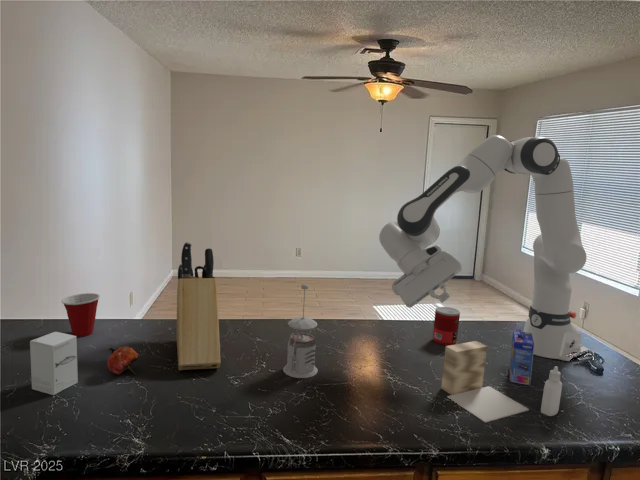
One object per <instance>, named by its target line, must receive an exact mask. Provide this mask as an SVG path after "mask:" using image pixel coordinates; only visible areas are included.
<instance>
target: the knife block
mask: <svg viewBox="0 0 640 480" xmlns="http://www.w3.org/2000/svg"><path fill="white" fill-rule="evenodd" d="M192 245H193V244H192V243H190V242H187V241H186V242H185V243H184V244H183V247H182V250H181V261H180V264H179V266H178V269H177V291H176V292H177V293H176V294H177V295H176V347H177V366H178V371H186V370H187V371H188V370H206V369H218V368H219V369H220V367H221V343H220V325H219V304H218V303H219V302H218V287H217V278H216V277H214V274H213V273H214V252H213V249H212V248H205V250H204V265H203V266H202V265H198V266H196V267H194V271H193V268H192V266H193V265H192V260H193V259H192V252H191V251H192ZM198 270H202V271H201V277H199V271H198Z"/></svg>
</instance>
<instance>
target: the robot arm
mask: <svg viewBox="0 0 640 480" xmlns="http://www.w3.org/2000/svg"><path fill="white" fill-rule="evenodd" d="M503 171H505V172H507V173H509V174H518V175H529V174H530V175H531V177H532V179H533V181H534V200H535V211H536V213H535V214H536V219H537V222H538V227H539V229H540V234H539V235H538V236H536V238H535V239H534V241H533V243H532V250H533V276H534V277H533V279H534V280H533V281H534V282H533V289H532V290H533V291H532V298H531V305H529V309H528V318H527V319H526V320H525V323H524V328H523V331H522V332H527V333H532V337H533V341H534V352H533V356H534V355H535V356H537V357H541V358H548V359H555V360H561V361H566V362H570V360H571V359H572V358H573V356H572V355H569V357H567V356H565V355H568V354H569V353H570V352H573V351H574V352H583V351H588V352H589V348H587V346H584V344H582V333H581V332H580V330H578V329H577V328H576V326H574V325H573V324H572V323H571V319H576V317H577V313H576V312H574V311H572V310H571V311H569V310H570V304H571V303H570V302H571V296H572V285H571V280H570V274H574V273H577V272H579V271H581V270H582V269H583V268H584V266H585V265H586V262H587V253H586V251H585V250H586V249H584V245H583V242H582V241H583V240H582V236H581V233H580V228H579V225H578V221H577V217H576V207H575V203H576V202H575V187H574V181H573V179H574V178H573V174H572V170H571V166H570V162H569V161H568V159H566V158H564V157H562V156H560V154H559V150H558V148H557V146H556V144H555V143H554V142H553V141H552V140H551V139H550V138H548V137H543V136H528V137H522V138H520V139H515V140H510V141H509V140H508V139H507V138H505V137H504V136H501V135H499V134H494V135H493V134H492V135H490V136H488V137H487V138H486V139H484V140H483V141H481V142H480V143H479V144H477V145H476V146H475V147H474V148H473V149H472V150H471V151H469V153H468V154H467V155H466V156H465V157H464V158H463V159H462V160H461V161H460V162H459V163H458V164H457V165H456V166H454V167H452V168H450V169H449V170H448V171H446V172H444V173H443V175H441V176H440V177H439V178H438V179H437V180H436V181H435V182H434V183H433V184H432V185H430V186H429V187H428V188H427V189H426V190H424V192H422V193H421V194H420V195H419V196H417V197H415V198H414V199H411V200H410V201H407V202H406V203H405V204H403V205H402V206H401V207H400V209H399V210H398V212H397V217H396V220H397V221H390V222H387V223H386V224H385V225H384V226H383V227H382V228H381V230H380V232H379V235H378V237H379V238H378V239H379V242H380V245H381V247H383V249H384V251H385V252H386V254H387V255H388V256H389V257H390V259H392V260H393V261H395V263H396V265H397V267H398V268H399V269H400V270H401V272H402V273H403V274H402V275H401V276H400V277H398V278H397V279H396V280H394V281H393V283H392V285H391V291H392V292H393V293H394V294H395V296H396V295H397V296H399V297H400V299H401V301H402V303H403V305H405V306H406V307H407V308H409V309H411V308H412V307H414V306H415V305H417V304H418V303H419V302H421V301H423V299H425V298H426V297H428V296H430V297H431V298H433V299H436V300H438V301H439V302H440V303H441V304H443V303H444V302H446V301H447V300H448V299H450V297H451V296H450V294H449V293H448V292H447V289H446V284H445V283H447V282H448V281H450V280H451V279H452V278H453V277H455V276H456V275H458V274H459V273H461V272H462V264H461V262H460V261H459V260H458V259H457V257H455V256H454V255H453V254H451V253H450V252H448V251H446V250H443V249H442V247H441V246H440V245H439V244H435V245H432V244H434V243H435V242H436V241H437V240H438V239H439V236H440V232H441V230H440V226H439V223H438V222H437V220H436V218H435V217H434V216H435V213H436V212H437V210H439V208H441V207H442V205H443V204H445V203H446V202H447V201H448V200H450V198H451V197H452V196H453V195H455V194H457V193H459V192H464V193H468V194H477V193H481V192H482V191H483V190H485V188H487V187H489V185H491V183H492V182H493V181H494V180H495V179H496V178H497V177H498V176H499V175H500V173H501V172H503ZM430 245H432V246H430ZM429 246H430V247H429ZM439 288H440V289H441V290H442V291H443V292H442V293H441V294H440V295H439V294H436V292H435V291H436V290H437V289H439ZM570 356H571V357H570ZM571 361H572V360H571Z"/></svg>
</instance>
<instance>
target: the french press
mask: <svg viewBox="0 0 640 480" xmlns="http://www.w3.org/2000/svg"><path fill="white" fill-rule="evenodd" d="M300 288H301V289H302V290H304V291H303V302H305V299H306V298H305V297H306V290H309V285H308V284H306V283H303V284H302V285H301V287H300ZM287 324H288V326H289V328H291V329H294V330H299V331H301V332H296V333H294V332H292V333H291V334H290V335H289V336H288V337H289V340H288V341H287V359H286V361H287V362H286V364H285V366H284V367H283V368H282V370H283V373H285V375H287V376H290V377H291V378H295V379H296V378H297V379H306V378H312V377H314V376H316V375H317V373H318V368H317V367H316V365H315V362H316V361H315V359H316V352H315V351H316V347H317V346H316V344H317V343H316V341H315V339H316V337H315V336H314V335H312V334H310V333H308V332H307V333H306V332H304V331H307V330H313V329H315V328H317V327H318V323H317V321H315V320H314V319H312V318H309V317H305V304H303V310H302V316H301V317H300V316H298V317H295V318H292V319H291V320H289V321H288V322H287ZM292 345H293V346H292ZM299 345H300V346H299Z"/></svg>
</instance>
